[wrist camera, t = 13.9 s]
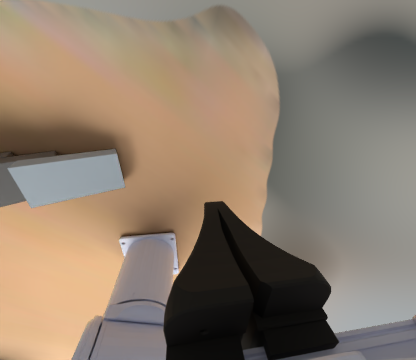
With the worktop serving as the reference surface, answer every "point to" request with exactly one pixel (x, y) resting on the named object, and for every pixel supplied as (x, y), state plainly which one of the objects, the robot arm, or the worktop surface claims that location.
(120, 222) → the worktop surface
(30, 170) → the domino
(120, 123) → the worktop surface
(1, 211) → the worktop surface
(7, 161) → the domino
